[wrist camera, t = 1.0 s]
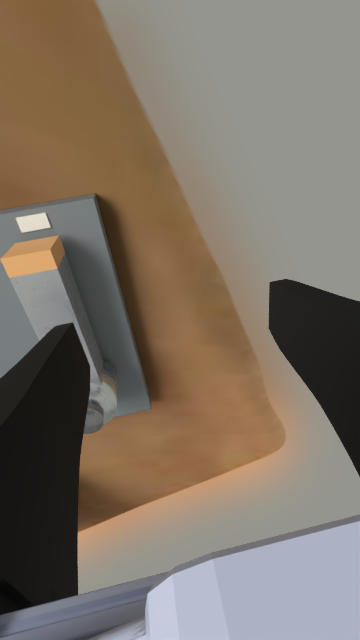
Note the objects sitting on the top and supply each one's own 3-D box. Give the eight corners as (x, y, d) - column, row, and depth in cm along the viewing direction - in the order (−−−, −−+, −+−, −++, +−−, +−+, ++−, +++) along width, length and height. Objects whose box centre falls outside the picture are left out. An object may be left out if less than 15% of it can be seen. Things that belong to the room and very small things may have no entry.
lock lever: (122, 388, 24) (122, 421, 21) (75, 398, 23) (70, 433, 21) (70, 232, 17) (60, 250, 14) (5, 244, 17) (-17, 265, 14)
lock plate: (149, 396, 27) (156, 457, 22) (-41, 438, 26) (-82, 513, 21) (95, 193, 18) (84, 217, 13) (-202, 245, 17) (-343, 294, 12)
